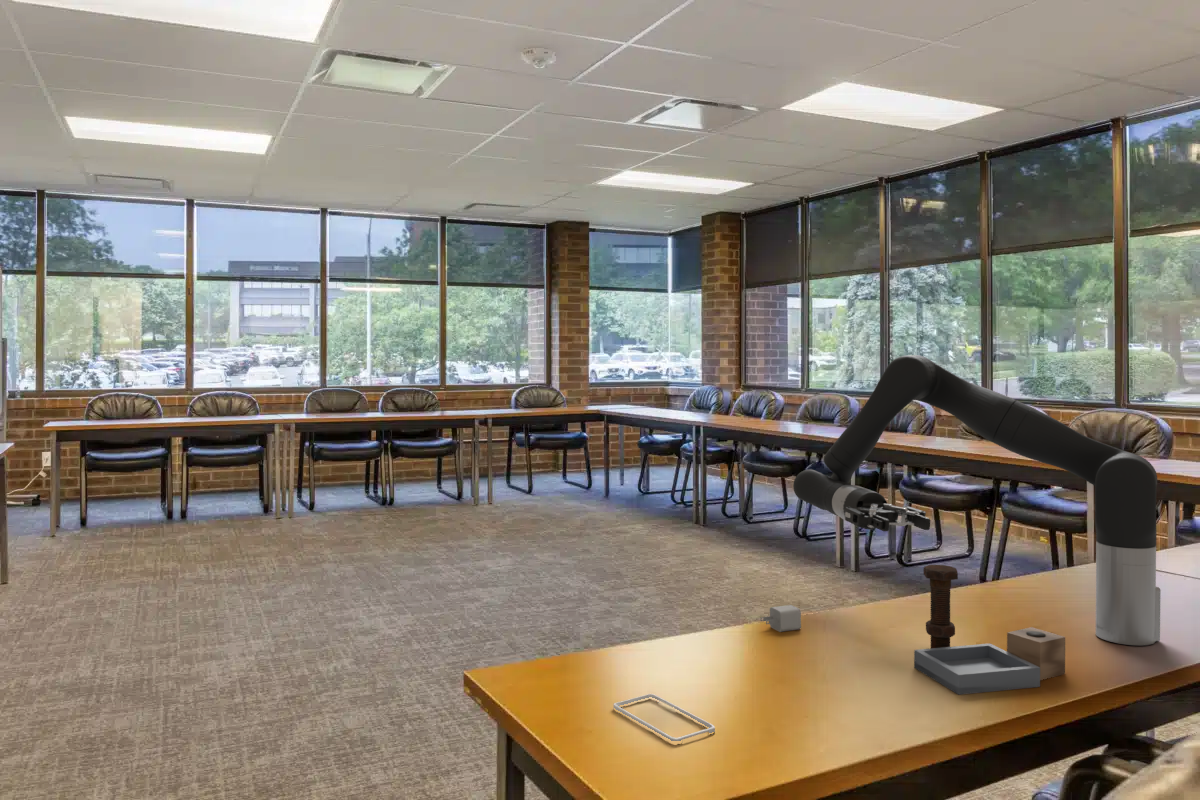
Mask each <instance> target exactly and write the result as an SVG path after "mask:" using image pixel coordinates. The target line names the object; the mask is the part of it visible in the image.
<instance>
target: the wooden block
mask: <svg viewBox="0 0 1200 800" xmlns="http://www.w3.org/2000/svg"><path fill="white" fill-rule="evenodd" d="M1006 635H1007V636H1006V651H1007V652H1009V653H1011V654H1013V655H1015V656H1017V657H1019V658H1021V659H1023V660H1026V661H1028V662H1030V663H1032V664H1034V665H1036V666H1038V667H1040V681H1043V679H1044V680H1047V678H1048V679H1051V677H1052V678H1055V677H1059V676H1062V675H1065V674H1066V636H1064V635H1060V634H1056V633H1052V632H1049V631H1046V630H1043V629H1040V628H1035V627H1033V626H1030V627H1026V628H1022V629H1017V630H1013V631H1008V632H1006Z"/></svg>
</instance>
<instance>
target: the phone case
mask: <svg viewBox="0 0 1200 800" xmlns="http://www.w3.org/2000/svg"><path fill="white" fill-rule="evenodd" d="M649 697H652V698H655V699H657V700H659V702H661V703H664V704H665V705H667V706H669V707H671V708H673V707H674V708H673V709H674V710H675V709H677V710H679V711H680V712H682V713H684V714H686V715H688V716H690V717H691V718H693V719H695V720H697V721H698V722H700V723H702V724H704V725H705V726H707V727H709V728H708V729H706V728H705V729H701V730H699V731H695V732H692V733H689V734H688V733H687V734H686V735H682V736H679V737H674V736H671V735H670V734H667V733H666V732H664V731H662V729H659V728H657V727H656V726H653V725H652V724H651V723H649V722H647V721H645V720H643V719H642V718H640V717H638V716H636V715H635V714H632V713H631V712H629V711H627V710H626V709H624V708H623V707H622V708H621V707H619V706H620V705H624V704H628V703H631V702H634V701H638V700H641V699H645V698H649ZM614 708H615V709H616V710H618V711H620V712H622V713H623V714H625V715H627V716H629V717H631V718H632V719H634V720H636V721H638V722H639V723H641V724H643V725H645V726H647V727H648V728H650V729H652V730H654V731H655V732H657V733H659V734H661V735H662V736H664V737H666V738H668V739H670V740H671V741H681V740H682V741H683V740H685V739H689V738H692V737H695V736H698V735H702V734H705V733H708V732H709V733H712V732H715V733H716V727H715V725H714V724H712V723H710V722H708V721H707V720H705V719H703V718H701V717H699V716H696V715H695V714H693V713H691V712H689V711H688V710H685V709H684V708H681V707H680V706H678V705H675V704H674V703H672V702H670V701H668V700H666V699H664V698H662V697H660V696H658V695H656V694H654V693H648V694H643V695H639V696H636V697H632V698H629V699H626V700H622V701H617V702H614V703H613V709H614Z"/></svg>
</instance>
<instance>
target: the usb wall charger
mask: <svg viewBox="0 0 1200 800" xmlns="http://www.w3.org/2000/svg"><path fill="white" fill-rule="evenodd" d="M760 622H765V624H766V625H769V626H770V628H771V629H773V630H775V631H777V632H779V633H781V632H788V631H789V632H790V631H796V630H797V631H798V630H801V629H802V611H801V609H800V608H799V607H796V606H795V605H792V604H786V605H779V606H772V607H770V608H769V616H764V617H763V616H761V617H760Z"/></svg>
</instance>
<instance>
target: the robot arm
mask: <svg viewBox="0 0 1200 800" xmlns="http://www.w3.org/2000/svg"><path fill="white" fill-rule="evenodd" d="M913 401H919V402H922V403H924V404H928V405H930V406H932V407H935V408H937V409H940V410H942V411H944V412H946V413H948V414H951V415H952V416H954V417H955V418H956V419H958V420H959V421H961V422H962V423H963V424H965V425H966V427H968V428H969V429H971V430H972V431H973V432H974V433H976V434H978V435H979V436H980V437H983V438H984V439H985V440H988V442H989V441H990V442H991V443H992V444H995V445H997V446H999V447H1001V448H1003V449H1005V450H1007V451H1009V452H1012V453H1014V454H1016V455H1019V456H1021V457H1025V458H1027V459H1031V460H1033V461H1035V462H1039V463H1043V464H1046V465H1050V466H1053V467H1056V468H1059V469H1063V470H1065V471H1067V472H1069V473H1070V474H1073V475H1075V476H1077V477H1079V478H1081V479H1082V480H1085V481H1086V482H1088V483H1089V484H1091V485H1093V486H1094V514H1095V515H1094V525H1095V535H1096V538H1095V541H1096V542H1095V543H1096V544H1095V553H1096V554H1095V635H1096V637H1098V638H1099V639H1102V640H1105V641H1107V642H1111V643H1115V644H1119V645H1127V646H1150V645H1153V644H1155V642H1159V641H1161V596H1162V595H1161V591H1162V590H1161V588H1160V587H1159V586H1157V486H1158V475H1157V471H1156V469H1155V467H1154V466H1153V465H1152V463H1151V462H1150V461H1148V460H1147V459H1146V458H1145V457H1143V456H1140V455H1138V454H1135V453H1133V452H1129V451H1126V450H1123V449H1120V448H1118V447H1114V446H1111V445H1108V444H1106V443H1103V442H1100V441H1098V440H1096V439H1093V438H1090V437H1088V436H1086V435H1084V434H1082V433H1080V432H1079V431H1076V430H1075V429H1073V428H1071V427H1069V426H1068V425H1066V424H1064V423H1063V422H1061V421H1059V420H1058V419H1055V418H1053V417H1052V416H1050V415H1048V414H1046V413H1044V412H1042V411H1040V410H1038V409H1036V408H1034V407H1032V406H1030V405H1027V404H1025V403H1024V402H1021V401H1019V400H1017V399H1015V398H1012V397H1010V396H1007V395H1005V394H1003V393H1000V392H997V391H994V390H991V389H989V388H987V387H983V386H982V385H981V386H980V385H979V384H975V383H972V382H970V381H968V380H965V379H963V377H960V376H958V375H956V374H954V373H952V372H951V371H950V370H947V369H946V368H943V367H942V366H941V365H939V364H937V363H936V362H934V361H932V360H931V359H929V358H927V357H925V356H922V355H917V354H909V355H901V356H897V357H896V358H894V359H893V360H892V361H890V363H889V364H888V365H887V366H886V368H885V370H884V371H883V374H882V375H881V377H880V379H879V381H878V382H877V384H876V386H875V388H874V390H873V392H872V393H871V394H870V396H869V398H868V399H867V401H866V402H865V404H864V405H863V407H862V408H861V410H860V411H859V412H858V413H857V415H856V416H855V418H854V419H853V420H852V421H851V422H850V424H849V425H848V426H847V427H846V428H845V430H844V431H843V432H842V433H841V434H840V435H839V436H838V438H837V439H836V441H835V442H834V443H833V444H832V446H831V447H829V449H828V450H827V452H826V453H825V455H824V457H823V463H824V464H825V466H826V467H827V469H829V470H830V471H831V472H832V475H831V476H830V477H829V476H828V475H826V474H824V473H822V472H819V471H817V470H814V469H805V470H803V471H802V470H801V472H799V473H797V475H796V477H795V478H794V481H793V483H792V488H793V491H794V494H795V496H796V497H797V498H798V499H799V500H802V501H803V502H805V503H807V504H809V505H812V506H814V507H815V508H818V509H820V510H822V511H827V512H828V513H830V514H833V515H835V516H838V517H839V518H841V519H842V520H844V521H846V522H847V523H850V524H851V525H854V526H856V527H859V528H861V529H864V530H870V531H871V530H875V529H876V530H880V531H883V532H889V530H890V525H891V526H896V527H905V526H907V525H908V526H912V527H916V528H918V529H921V530H924V531H929V530H930V528H931V519H930V518H929V517H927V516H926V514H927V512H926V511H925V510H922V509H921V510H920V509H918V508H915V507H911V506H908V505H902V507H901V506H896V505H894V504H892V503H888V502H887V500H886V499H885V497H884V495H882V494H881V493H880V492H876V491H874V490H871V489H868V488H865V487H862V486H860V485H857V484H856V485H854V484H853V485H852V484H850V481H851V479H852V478H853V475H854V473H855V472H856V471H857V470H858V468H859V467H860V466H861V465H862V464H863V463H864V461H865V460H866V459H867V458H868V456H869V455H870V454H871V452H872V451H873V449H874V448H875V446H876V445H877V444H878V442H879V439H880V438H881V436H882V434H883V433H884V431H885V430H886V429H887V427H888V425H890V423H891V422H892V421H893V419H894V418H895V417H896V416H897V415H898V414H899V413H900V412H901V411H902V410H903V409H905V408H906V407H907V406H908V405H910V403H912V402H913ZM899 516H900V517H901V518H900V521H898V519H899Z"/></svg>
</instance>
